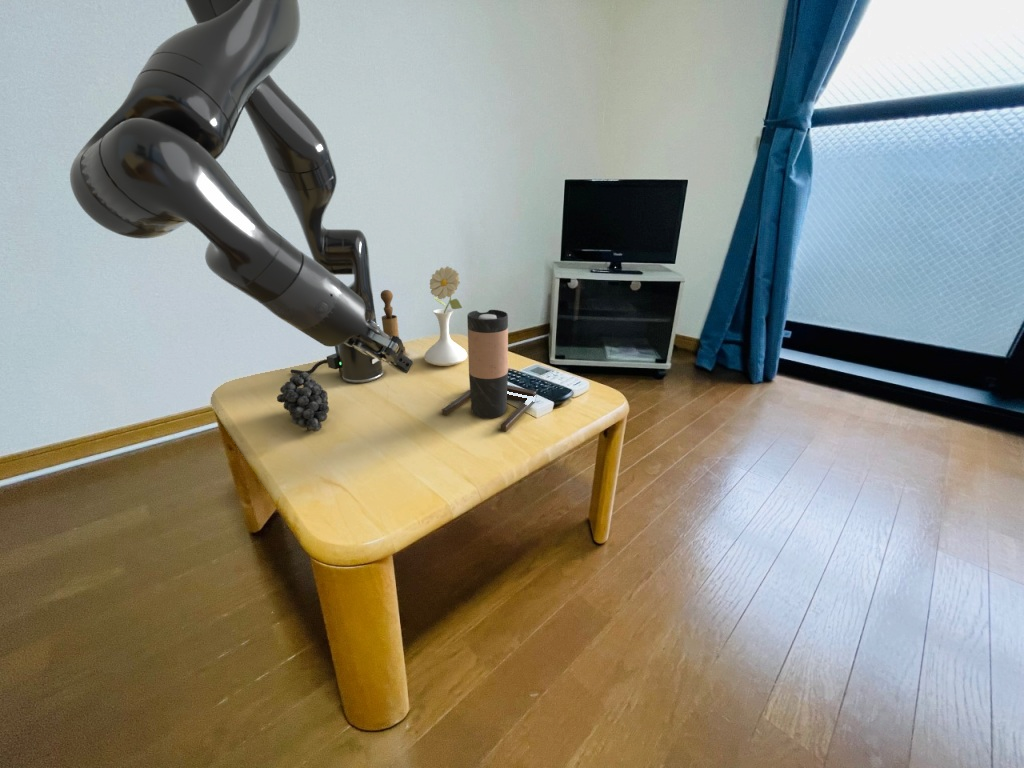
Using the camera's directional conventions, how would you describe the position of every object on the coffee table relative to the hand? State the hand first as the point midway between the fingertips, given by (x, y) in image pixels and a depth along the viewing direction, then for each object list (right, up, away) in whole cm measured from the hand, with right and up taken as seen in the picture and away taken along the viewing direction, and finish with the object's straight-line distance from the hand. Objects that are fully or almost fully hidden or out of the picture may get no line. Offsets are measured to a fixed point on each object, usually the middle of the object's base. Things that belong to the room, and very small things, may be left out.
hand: (406, 366), depth 60 cm
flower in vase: (-1, +3, +45) cm, 45 cm away
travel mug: (+11, -8, +21) cm, 25 cm away
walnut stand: (+11, -8, +21) cm, 25 cm away
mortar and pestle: (-17, +5, +49) cm, 52 cm away
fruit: (-23, -10, +15) cm, 29 cm away
